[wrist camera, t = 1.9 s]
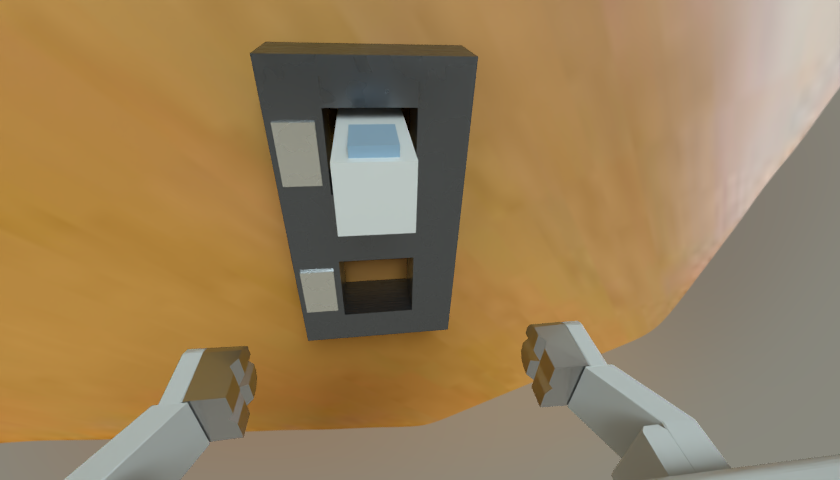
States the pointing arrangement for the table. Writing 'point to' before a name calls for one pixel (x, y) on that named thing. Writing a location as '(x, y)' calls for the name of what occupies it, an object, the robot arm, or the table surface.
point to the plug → (373, 172)
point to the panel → (312, 183)
